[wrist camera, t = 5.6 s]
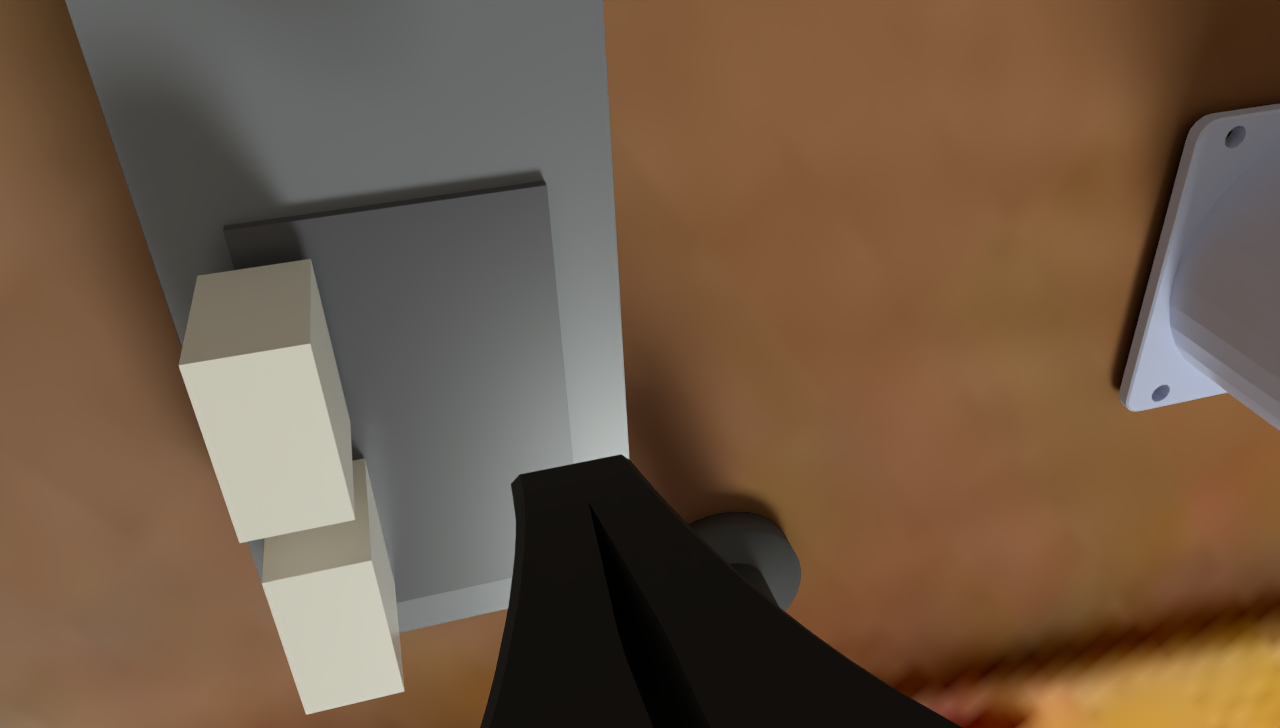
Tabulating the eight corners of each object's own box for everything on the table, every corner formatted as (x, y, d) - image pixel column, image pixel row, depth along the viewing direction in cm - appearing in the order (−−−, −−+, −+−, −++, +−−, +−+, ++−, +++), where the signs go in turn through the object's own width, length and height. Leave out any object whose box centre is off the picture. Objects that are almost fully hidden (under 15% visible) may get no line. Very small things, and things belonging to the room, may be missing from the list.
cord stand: (792, 497, 26) (926, 717, 20) (786, 608, 28) (906, 834, 22) (641, 530, 25) (737, 768, 20) (647, 641, 27) (735, 884, 22)
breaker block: (543, -203, 16) (648, -166, 11) (597, 476, 24) (675, 684, 19) (72, -173, 15) (-54, -114, 10) (290, 539, 23) (282, 781, 17)
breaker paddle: (311, 258, 15) (309, 343, 13) (350, 422, 17) (355, 519, 15) (197, 275, 15) (178, 365, 13) (249, 440, 16) (239, 543, 14)
